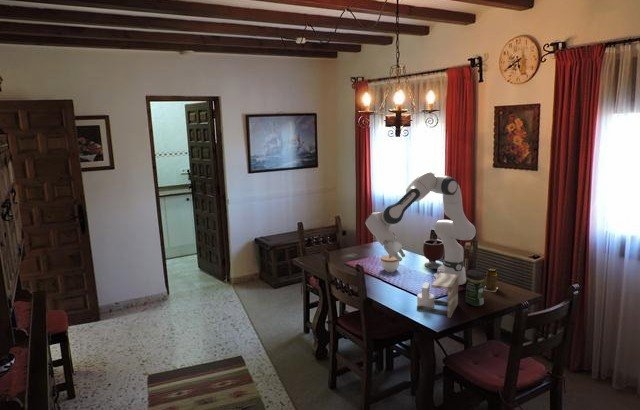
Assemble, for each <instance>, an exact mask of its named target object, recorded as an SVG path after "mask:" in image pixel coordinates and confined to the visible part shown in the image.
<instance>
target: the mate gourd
mask: <svg viewBox="0 0 640 410" xmlns="http://www.w3.org/2000/svg"><path fill="white" fill-rule="evenodd" d="M422 248H423V249H422V251H423V255H424V257H425V258H426V259H427V260H429V261H428V262H425V263H424V264H423V265H424V267H425V268H428V269H438V267H440V266H441V265H442V264H443V263H440V262H437V261H439V260H441V259H442V257H443V256H444V253H445V248H444V244H443V242H442V240H441V239H440V240H438V239H425V240H424V241H423V247H422Z"/></svg>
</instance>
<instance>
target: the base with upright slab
mask: <svg viewBox="0 0 640 410" xmlns="http://www.w3.org/2000/svg"><path fill="white" fill-rule="evenodd" d="M430 284H431V283H430V282H426V281H425V282H423V284H422V286H421V292H419V293H418V294H417V295H416V296H417V297H416V302H417V304H416V306H417V305H418V306H424V307H431V308H435V303H434V299H435V295H434V294H432V293H430V288H431V287H430Z"/></svg>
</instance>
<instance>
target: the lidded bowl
mask: <svg viewBox="0 0 640 410" xmlns="http://www.w3.org/2000/svg"><path fill="white" fill-rule="evenodd" d="M380 265H381V267H382V269H383V270H384V271H385V272H387V273H394V272H396V270H398V268H399V266H400V261H399V260H398V259H396V258H395V257H394V256H393V257H391V256H390V255H389V254H386V255H382V256H381V257H380Z"/></svg>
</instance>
